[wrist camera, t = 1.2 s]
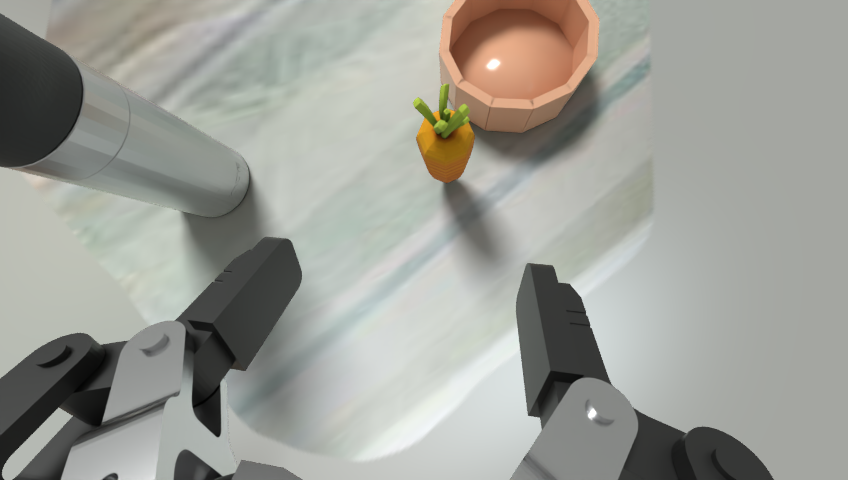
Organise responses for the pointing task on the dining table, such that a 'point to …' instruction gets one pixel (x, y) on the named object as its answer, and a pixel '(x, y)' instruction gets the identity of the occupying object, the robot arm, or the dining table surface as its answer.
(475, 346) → the dining table surface
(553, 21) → the terracotta bowl
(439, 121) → the carrot
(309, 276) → the dining table surface
